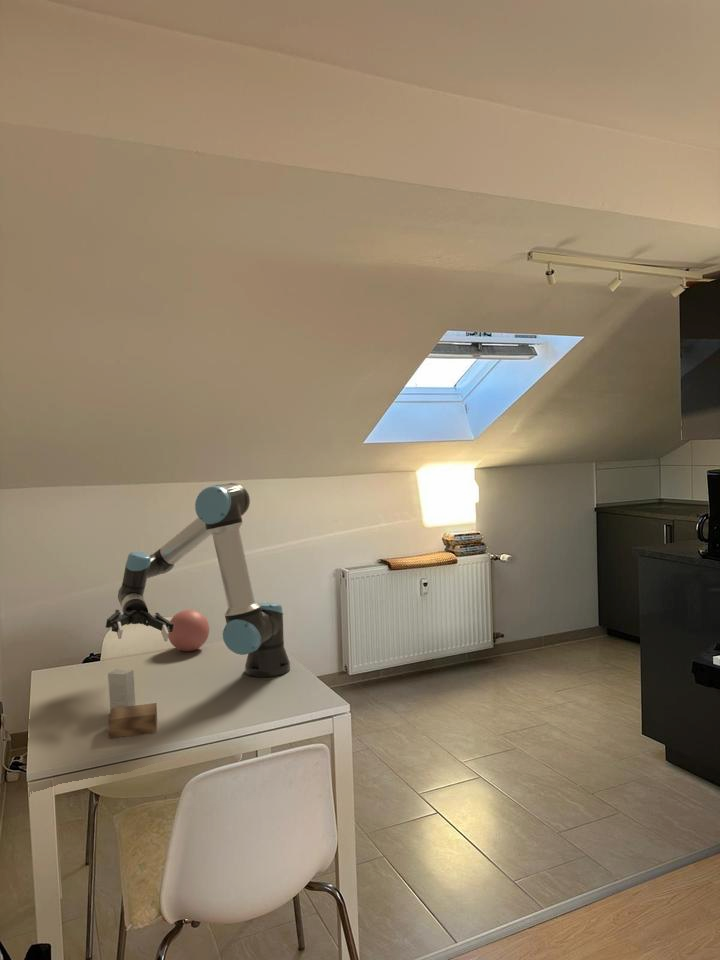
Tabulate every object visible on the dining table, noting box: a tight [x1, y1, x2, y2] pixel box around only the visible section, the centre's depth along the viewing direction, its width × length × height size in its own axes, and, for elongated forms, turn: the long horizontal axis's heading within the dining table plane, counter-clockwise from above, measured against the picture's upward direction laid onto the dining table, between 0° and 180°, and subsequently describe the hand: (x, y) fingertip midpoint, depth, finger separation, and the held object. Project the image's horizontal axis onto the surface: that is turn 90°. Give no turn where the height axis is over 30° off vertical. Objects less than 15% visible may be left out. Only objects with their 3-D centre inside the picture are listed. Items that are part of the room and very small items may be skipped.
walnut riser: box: [108, 702, 158, 739], centre depth 198 cm, size 12×9×5 cm
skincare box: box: [107, 668, 136, 713], centre depth 211 cm, size 6×4×12 cm
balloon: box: [168, 609, 210, 652], centre depth 276 cm, size 15×20×15 cm
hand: (144, 636), depth 217 cm, fingers open, 13 cm apart
